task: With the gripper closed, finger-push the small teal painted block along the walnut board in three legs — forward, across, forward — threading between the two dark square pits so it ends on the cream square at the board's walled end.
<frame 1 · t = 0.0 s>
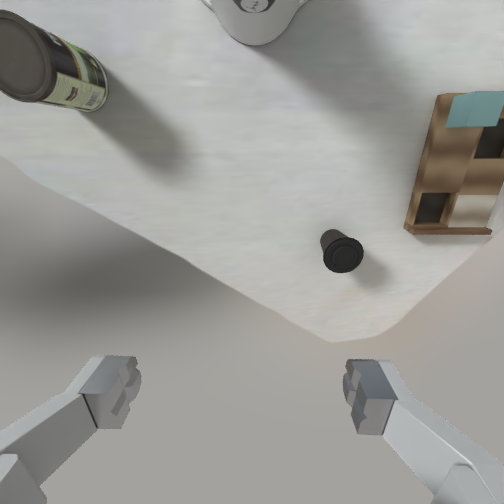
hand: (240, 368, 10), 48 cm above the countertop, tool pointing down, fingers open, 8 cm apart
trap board: (457, 168, 51), on the countertop
teal block: (463, 112, 45), point 2 cm above the countertop, touching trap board
coffee can: (81, 81, 47), on the countertop
coffee cup: (331, 239, 59), on the countertop
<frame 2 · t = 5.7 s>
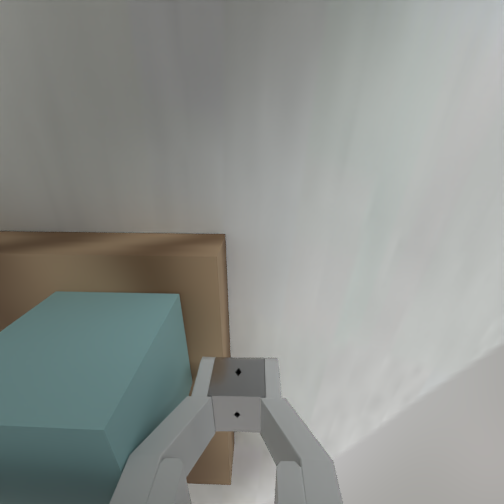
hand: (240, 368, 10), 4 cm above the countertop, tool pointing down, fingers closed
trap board: (14, 356, 15), on the countertop
teal block: (130, 340, 11), point 2 cm above the countertop, touching gripper
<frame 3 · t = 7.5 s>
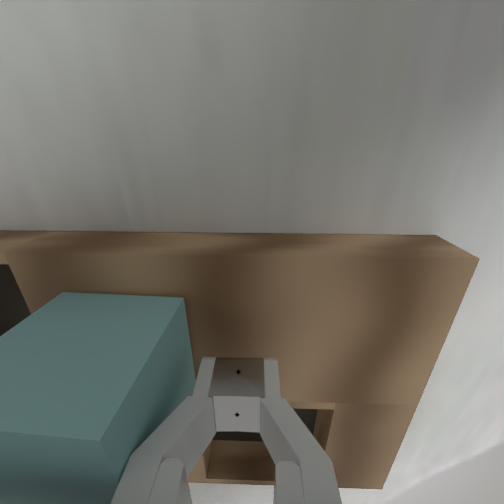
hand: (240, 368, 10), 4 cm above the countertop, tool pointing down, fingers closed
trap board: (171, 359, 15), on the countertop
teal block: (134, 342, 11), point 3 cm above the countertop, touching gripper
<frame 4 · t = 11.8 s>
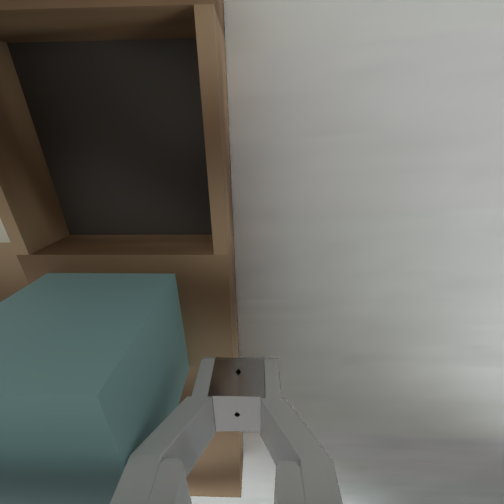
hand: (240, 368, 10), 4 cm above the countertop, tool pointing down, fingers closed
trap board: (89, 312, 13), on the countertop
teal block: (125, 324, 11), point 2 cm above the countertop, touching gripper
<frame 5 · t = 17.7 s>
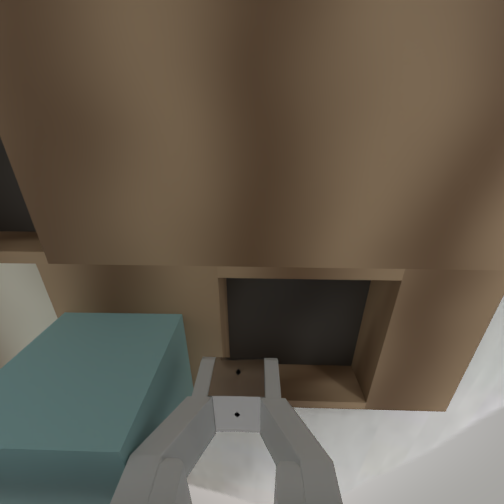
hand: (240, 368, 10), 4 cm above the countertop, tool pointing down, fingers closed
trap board: (182, 241, 12), on the countertop
teal block: (135, 357, 11), point 2 cm above the countertop, touching gripper, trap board
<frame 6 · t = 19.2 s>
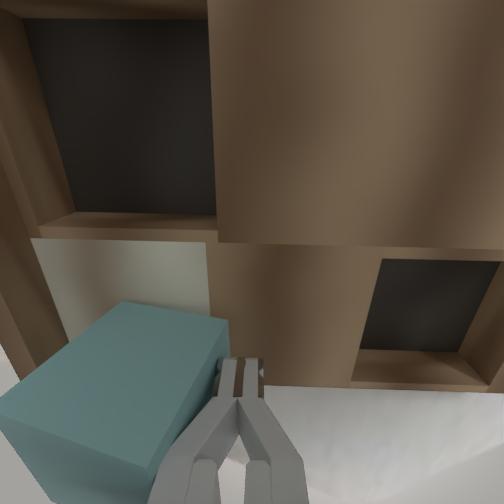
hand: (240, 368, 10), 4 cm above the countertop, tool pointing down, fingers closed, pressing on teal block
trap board: (319, 226, 12), on the countertop
teal block: (179, 353, 11), point 3 cm above the countertop, tilted 14°, touching gripper, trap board
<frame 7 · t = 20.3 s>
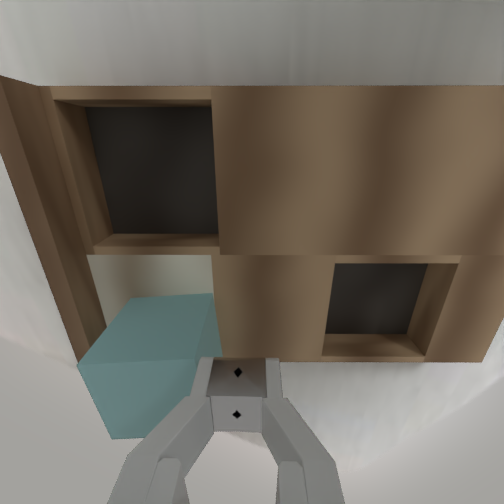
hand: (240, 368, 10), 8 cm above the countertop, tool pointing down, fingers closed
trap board: (293, 240, 16), on the countertop
teal block: (179, 328, 16), point 2 cm above the countertop, touching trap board
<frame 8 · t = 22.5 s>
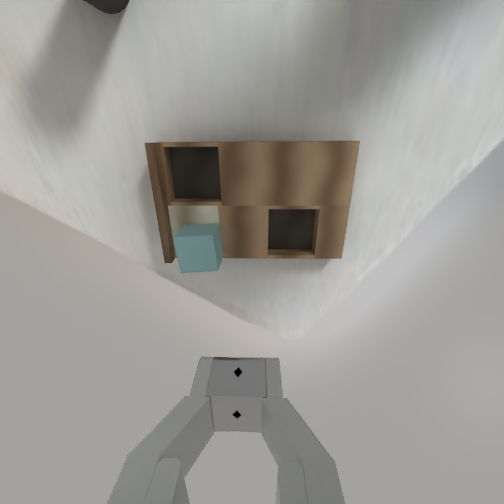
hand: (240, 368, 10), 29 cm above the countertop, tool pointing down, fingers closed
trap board: (254, 201, 36), on the countertop
teal block: (204, 240, 36), point 2 cm above the countertop, touching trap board
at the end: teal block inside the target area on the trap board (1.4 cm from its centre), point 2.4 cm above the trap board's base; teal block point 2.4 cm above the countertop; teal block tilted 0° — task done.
